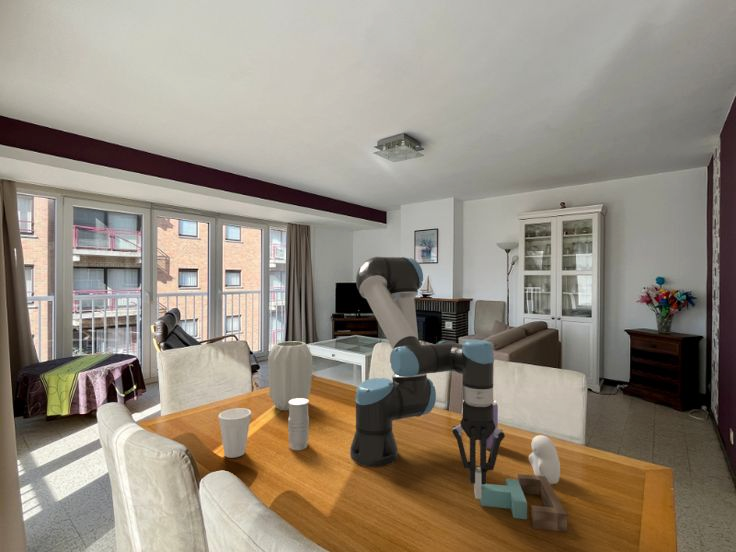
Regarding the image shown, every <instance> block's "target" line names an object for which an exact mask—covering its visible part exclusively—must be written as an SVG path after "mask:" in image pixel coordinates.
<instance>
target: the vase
mask: <svg viewBox="0 0 736 552" xmlns="http://www.w3.org/2000/svg"><path fill="white" fill-rule="evenodd" d="M308 346H309V345H307V343H306V342H304V341H298V340H296V341H292V340H290V341H289V340H288V341H281V342H277V343H275V344H273V346H272V348H271V350H270V352H269V354H268V358H267V367H268V368H267V370H268V384H269V385H268V386H269V398H270V399H271V402H272V403H273V405H274V407H276V408H277V410H279V411H280V410H282V411H286V412H287V411H289V401H290V400H292V399H296V398H305V399H308V400H309V397H310V395H311V387H312V377H313V376H312V375H313V354H312V353H311V350H310V348H309V347H308Z"/></svg>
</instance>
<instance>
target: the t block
mask: <svg viewBox="0 0 736 552" xmlns="http://www.w3.org/2000/svg"><path fill="white" fill-rule="evenodd" d="M479 502H480V505H481V507H489V508H490V507H491V508H498V509H500V508H501V509H510V512H511V514H512V517H513V518H514V519H519V520H521V519H522V520H527V519H528V502H527V499H526V496H525V494H524V493H523V491H522V489H521V486H520V484H519V481H518V479H513V478H505V485H504V484H503V485H502V484H493V483H486V484H481V499H479Z"/></svg>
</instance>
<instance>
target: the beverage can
mask: <svg viewBox="0 0 736 552" xmlns="http://www.w3.org/2000/svg"><path fill="white" fill-rule="evenodd" d="M492 404H493V421H494V423H495V426H496V428H498V426H499V423H498V421H499V419H498V418H499V415H498V414H499V413H498V409H499V407H498V406H499V405H498V402H497V400H494V399H493V403H492ZM498 429H499V428H498ZM493 439H494V432H493V433H492V434H491V435H490V437H489V438H488V439H487V440H486V450H490V451H491V447H492V443H493ZM478 444H479V445H480V440H478Z"/></svg>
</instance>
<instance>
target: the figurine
mask: <svg viewBox="0 0 736 552" xmlns="http://www.w3.org/2000/svg"><path fill="white" fill-rule="evenodd" d="M530 447H531V450H532V452H531V453H529V455H528V461H529V463H530V465H531V468H532V471H533V473H534V475H535V476H545V477H546V478H547V480H548V482H549V483H550V485H556V484H558V483H559V481H560V478H561V463H560V458H559V456H558V455H559V454H558V452H557V448H556V446H555V444H554V442H553V441H552V440H551V438H549V437H548V436H546V435H543V434H540V435H536V436H533V438H532V440H531V445H530Z"/></svg>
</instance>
